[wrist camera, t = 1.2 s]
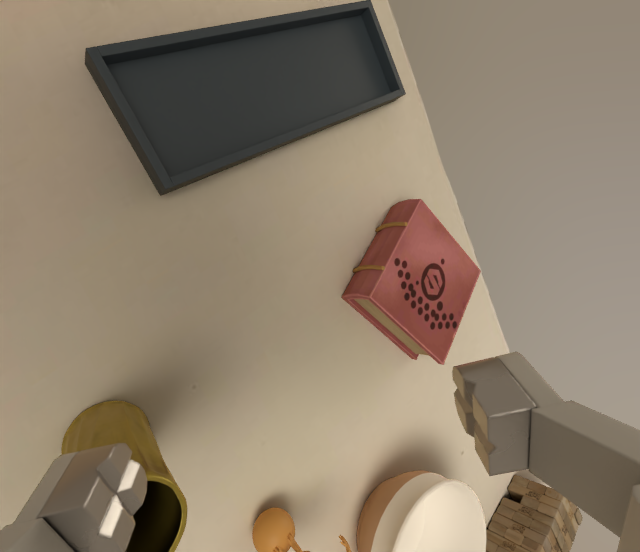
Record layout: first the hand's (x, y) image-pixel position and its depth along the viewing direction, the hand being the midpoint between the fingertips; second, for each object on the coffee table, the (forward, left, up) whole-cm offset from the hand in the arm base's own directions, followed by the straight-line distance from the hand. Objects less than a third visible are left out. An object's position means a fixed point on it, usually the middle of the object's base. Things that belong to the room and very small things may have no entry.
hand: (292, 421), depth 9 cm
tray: (+10, +27, -27) cm, 39 cm away
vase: (-1, -8, -27) cm, 28 cm away
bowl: (+32, -22, -27) cm, 47 cm away
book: (+31, +8, -27) cm, 41 cm away
